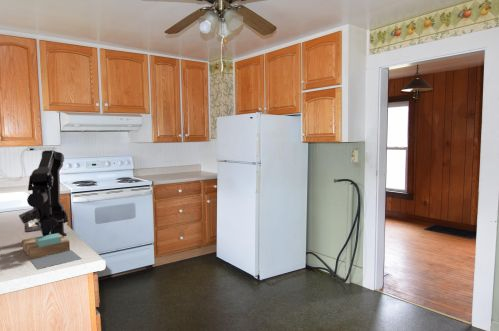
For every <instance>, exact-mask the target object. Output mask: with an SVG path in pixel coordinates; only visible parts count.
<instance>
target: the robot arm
mask: <svg viewBox="0 0 499 331" xmlns="http://www.w3.org/2000/svg"><path fill="white" fill-rule="evenodd" d="M64 163H65V155H64V154H63V153H62V152H60V151H59V152H58V151H56V150H54V149H53V150H46V149H45V150H42V151H41V158H40V161H39V165H38V167H37V168H36V169H34V170H33V171H32V172H31V175H29V179H28V187H27V191H29V192H30V191H32V193H30V194H29V195H28V196H27V199H26V202H27V204H28V205H29V206H30V207H32V208H31V209H30V210H27V211H25V212H23V213H21V214H19V215H18V217H19V219H20V221H21V223H22V224H24V225H25V224H26V223H30V222H31V221H33V222H35V224H36V225H37V226H38V227H40V232H41V236H46V235H51V234H56V233H59V234H61V235H62V236H63V237H65V236H67V233H66V232H65V225H64V224H66V223H68V222H69V220H68V219H69V217H68V214H67V212H66V210H65V207H64V205H63V204H62V203H61V193H60V192H61V188H60V185H61V184H60V171H61V169H62V168H63V166H64ZM35 220H36V221H35Z"/></svg>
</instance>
